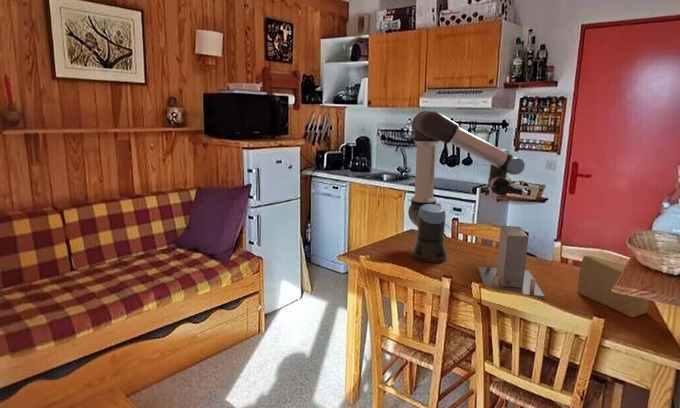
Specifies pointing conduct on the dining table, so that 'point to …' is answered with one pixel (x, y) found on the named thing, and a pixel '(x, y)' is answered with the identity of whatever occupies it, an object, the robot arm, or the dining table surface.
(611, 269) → the olive brown block
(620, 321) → the dining table surface
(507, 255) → the hard drive box
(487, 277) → the standoff base
